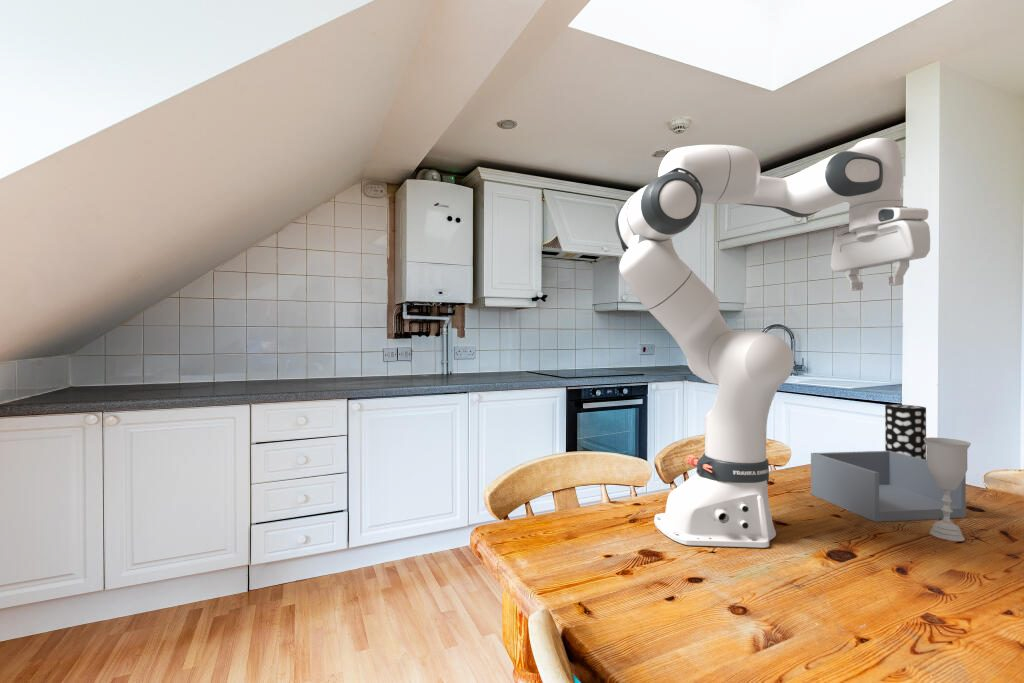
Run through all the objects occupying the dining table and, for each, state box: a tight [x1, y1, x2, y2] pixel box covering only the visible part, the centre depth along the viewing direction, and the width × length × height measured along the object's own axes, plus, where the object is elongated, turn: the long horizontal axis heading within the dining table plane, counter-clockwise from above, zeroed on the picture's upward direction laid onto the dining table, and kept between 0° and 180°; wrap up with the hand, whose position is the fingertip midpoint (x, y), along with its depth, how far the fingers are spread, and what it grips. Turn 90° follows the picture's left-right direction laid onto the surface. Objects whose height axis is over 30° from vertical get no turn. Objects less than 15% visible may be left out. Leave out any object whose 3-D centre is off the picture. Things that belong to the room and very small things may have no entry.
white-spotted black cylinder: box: [884, 403, 927, 460], centre depth 126 cm, size 8×8×20 cm
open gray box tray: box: [810, 450, 967, 523], centre depth 109 cm, size 21×18×10 cm
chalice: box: [923, 436, 971, 542], centre depth 92 cm, size 7×7×18 cm
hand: (875, 288), depth 99 cm, fingers open, 8 cm apart
